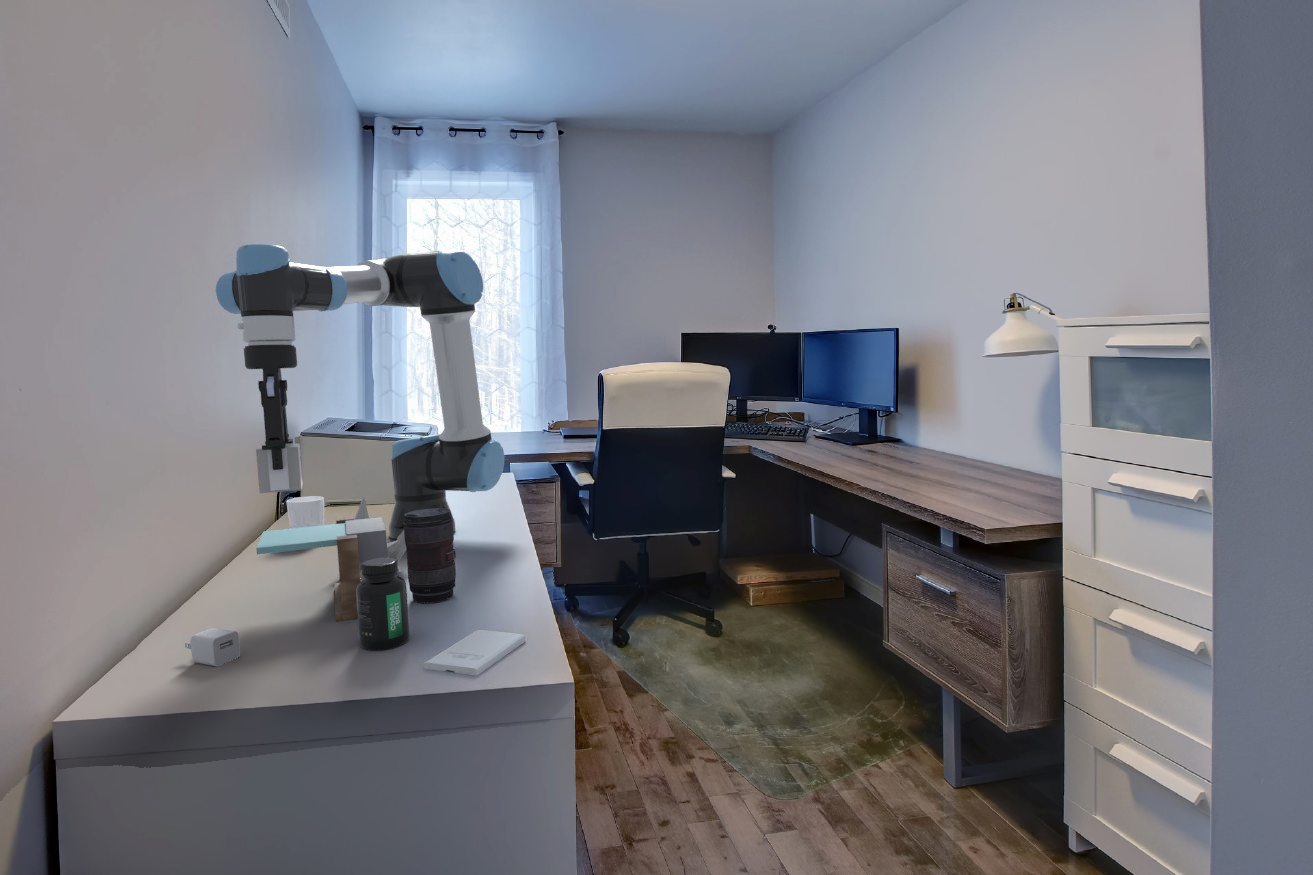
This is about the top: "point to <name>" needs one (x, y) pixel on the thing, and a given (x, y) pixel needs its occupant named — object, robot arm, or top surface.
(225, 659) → the usb wall charger
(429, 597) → the camera lens
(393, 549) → the crystal
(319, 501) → the white cup
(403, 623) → the supplement bottle
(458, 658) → the external hard drive
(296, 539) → the trapdoor
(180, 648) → the top surface
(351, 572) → the stand
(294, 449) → the plain grey cube
